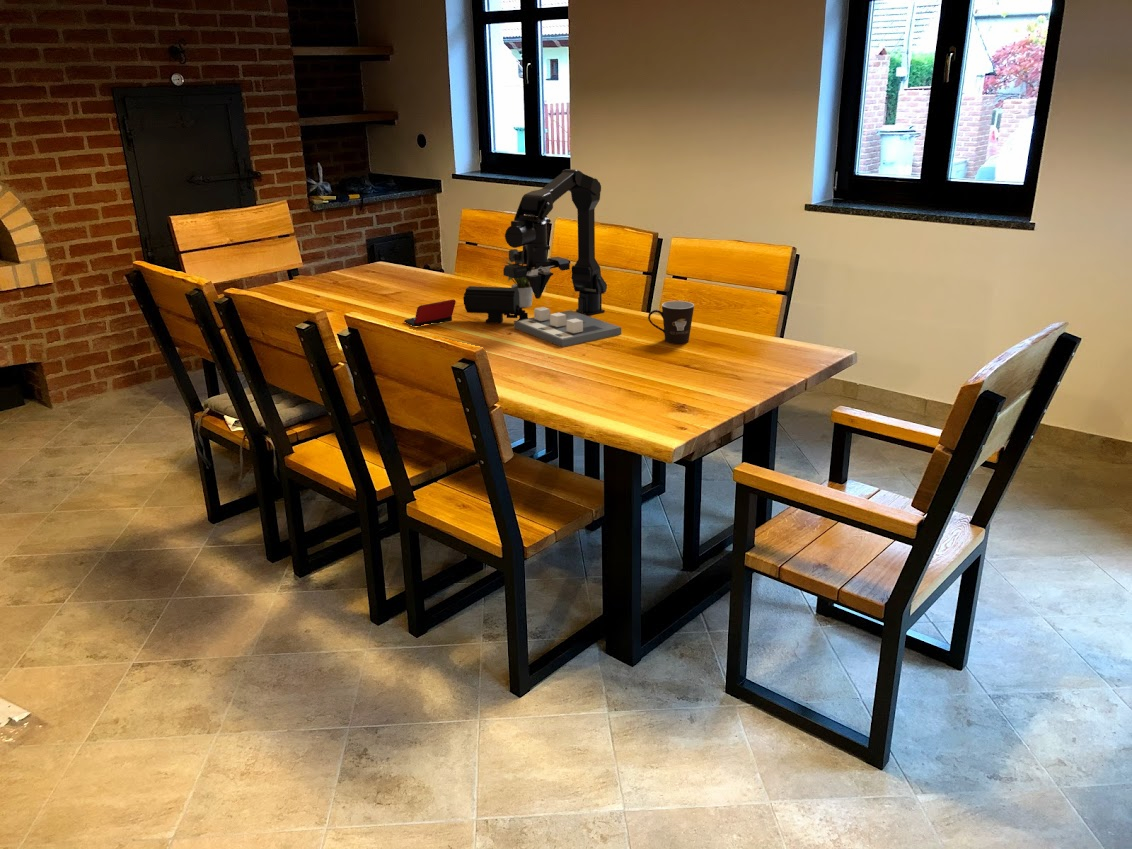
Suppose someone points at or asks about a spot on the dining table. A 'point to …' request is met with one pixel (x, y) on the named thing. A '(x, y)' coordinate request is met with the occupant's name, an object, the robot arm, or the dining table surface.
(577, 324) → the tab
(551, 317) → the tab
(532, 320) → the switch bank
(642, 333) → the dining table surface
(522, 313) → the security camera
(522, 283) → the house plant
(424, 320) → the handheld game console
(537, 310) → the tab
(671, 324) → the coffee mug
